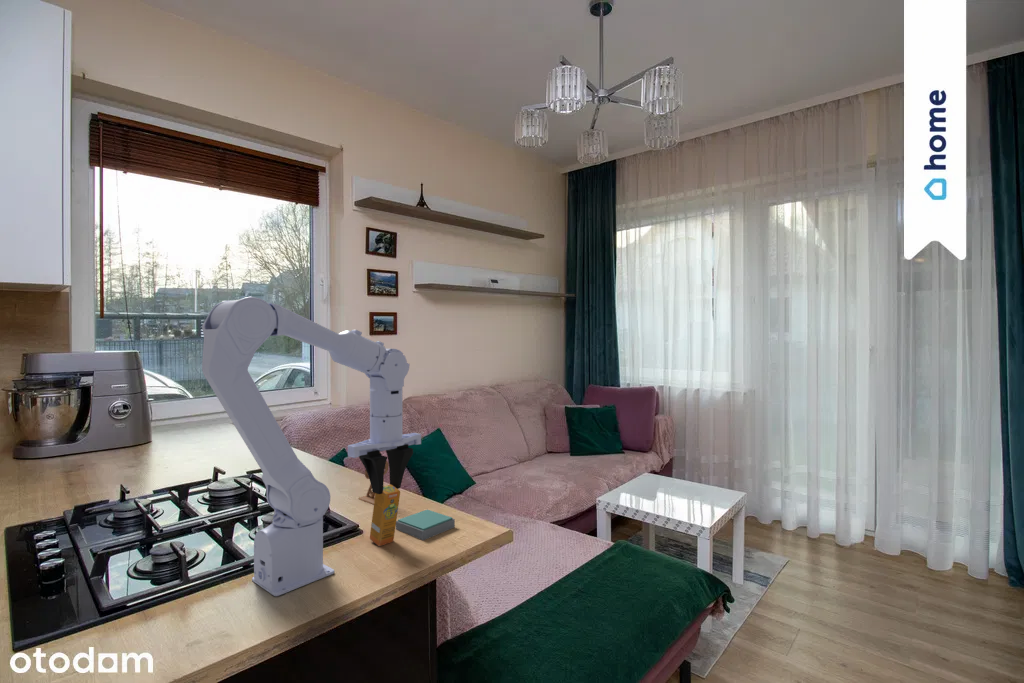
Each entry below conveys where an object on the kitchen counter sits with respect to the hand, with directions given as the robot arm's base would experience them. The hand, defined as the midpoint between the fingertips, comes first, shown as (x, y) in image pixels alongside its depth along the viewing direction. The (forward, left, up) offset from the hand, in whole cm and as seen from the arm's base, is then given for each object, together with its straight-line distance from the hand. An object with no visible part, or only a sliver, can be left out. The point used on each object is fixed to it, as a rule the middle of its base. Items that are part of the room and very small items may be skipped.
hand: (386, 490), depth 90 cm
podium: (+9, 0, -10) cm, 13 cm away
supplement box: (0, +1, -10) cm, 10 cm away
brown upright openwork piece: (+12, +20, -10) cm, 25 cm away
